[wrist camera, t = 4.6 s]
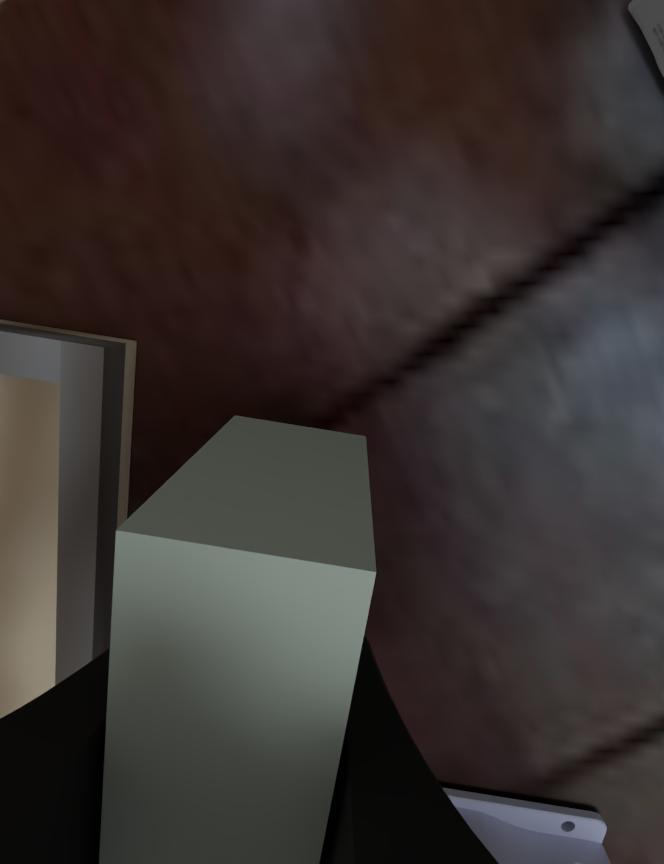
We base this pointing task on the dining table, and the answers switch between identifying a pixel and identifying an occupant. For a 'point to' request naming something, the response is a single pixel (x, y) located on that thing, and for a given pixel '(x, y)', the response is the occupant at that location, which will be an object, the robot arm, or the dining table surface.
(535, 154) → the dining table surface
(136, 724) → the grey-green rectangular block
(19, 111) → the dining table surface
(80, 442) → the grey shallow tray
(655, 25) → the tea box
